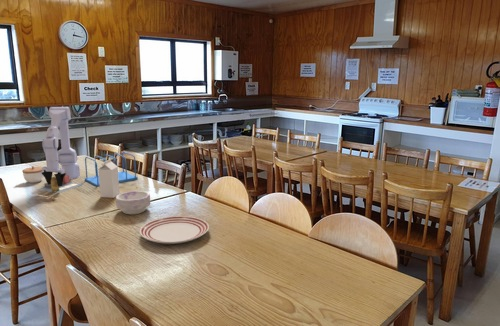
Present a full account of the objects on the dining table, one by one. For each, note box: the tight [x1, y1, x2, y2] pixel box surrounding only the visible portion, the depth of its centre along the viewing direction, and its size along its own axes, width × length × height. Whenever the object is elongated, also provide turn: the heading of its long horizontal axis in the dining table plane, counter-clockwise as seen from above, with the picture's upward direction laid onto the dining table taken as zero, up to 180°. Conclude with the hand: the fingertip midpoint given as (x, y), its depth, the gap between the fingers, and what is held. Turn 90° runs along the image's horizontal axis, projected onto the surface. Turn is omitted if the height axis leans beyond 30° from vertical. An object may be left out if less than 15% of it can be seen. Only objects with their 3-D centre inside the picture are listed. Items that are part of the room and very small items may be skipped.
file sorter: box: [84, 151, 139, 187], centre depth 225 cm, size 25×17×15 cm
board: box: [35, 181, 85, 194], centre depth 211 cm, size 18×16×1 cm
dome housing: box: [43, 182, 64, 188], centre depth 212 cm, size 7×7×2 cm
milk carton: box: [98, 158, 120, 199], centre depth 197 cm, size 7×7×19 cm
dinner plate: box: [139, 215, 210, 245], centre depth 153 cm, size 28×27×3 cm
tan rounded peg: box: [51, 176, 59, 192], centre depth 203 cm, size 4×4×8 cm
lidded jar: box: [22, 165, 45, 184], centre depth 220 cm, size 11×11×9 cm
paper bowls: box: [115, 190, 151, 215], centre depth 177 cm, size 15×15×8 cm
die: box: [63, 175, 71, 184], centre depth 218 cm, size 4×4×4 cm
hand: (55, 185), depth 204 cm, fingers open, 7 cm apart
